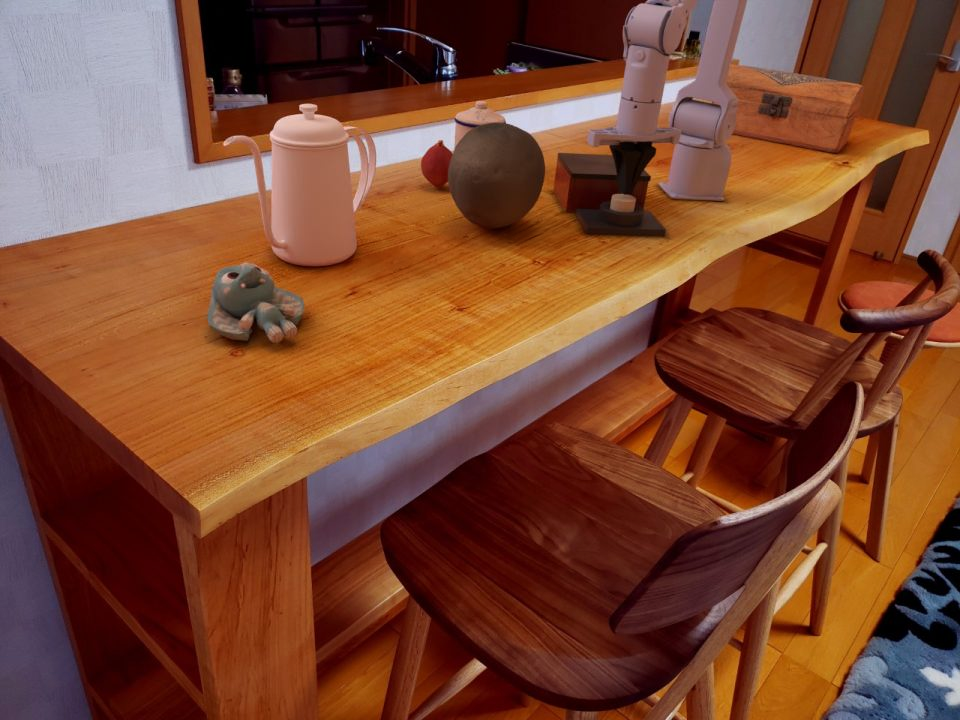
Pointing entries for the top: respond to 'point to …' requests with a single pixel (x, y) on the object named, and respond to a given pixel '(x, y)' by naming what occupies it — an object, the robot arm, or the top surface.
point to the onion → (436, 164)
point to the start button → (622, 203)
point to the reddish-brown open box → (589, 191)
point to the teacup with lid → (474, 119)
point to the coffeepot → (312, 187)
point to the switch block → (619, 222)
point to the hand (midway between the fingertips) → (624, 192)
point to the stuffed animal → (252, 304)
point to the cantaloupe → (496, 174)
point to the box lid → (592, 166)
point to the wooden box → (793, 107)
